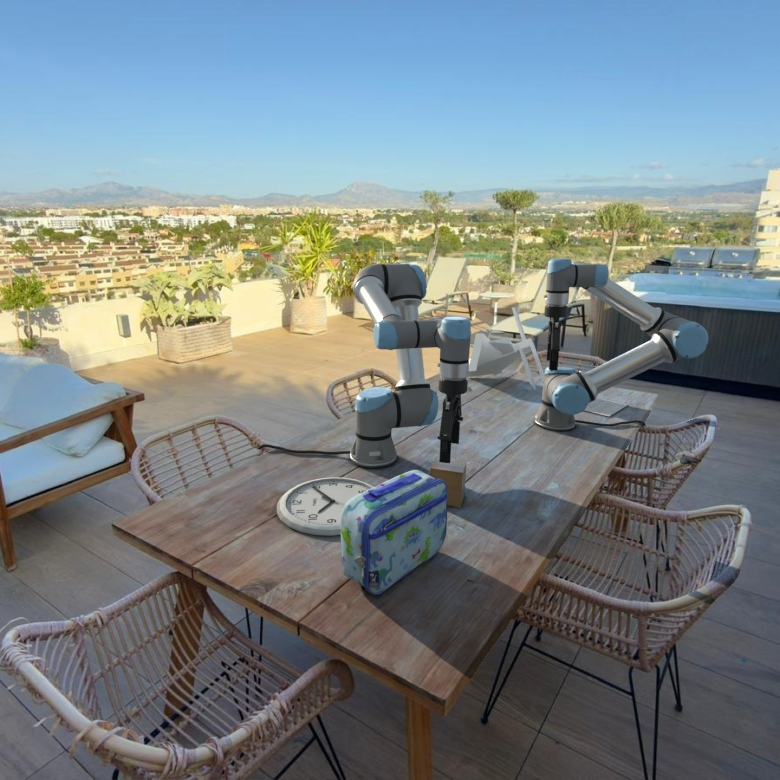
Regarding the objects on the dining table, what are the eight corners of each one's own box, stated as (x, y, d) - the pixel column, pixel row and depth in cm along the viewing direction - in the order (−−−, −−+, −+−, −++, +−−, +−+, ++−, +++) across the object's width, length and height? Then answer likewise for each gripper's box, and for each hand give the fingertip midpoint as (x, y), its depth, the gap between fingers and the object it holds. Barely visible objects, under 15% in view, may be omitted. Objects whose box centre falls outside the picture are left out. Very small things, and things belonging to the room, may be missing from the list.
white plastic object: (482, 418, 266) (461, 395, 241) (463, 346, 288) (443, 318, 264) (553, 394, 254) (538, 368, 229) (528, 321, 276) (512, 289, 251)
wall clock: (392, 527, 129) (268, 531, 127) (391, 533, 130) (269, 537, 127) (383, 473, 158) (282, 475, 155) (383, 478, 158) (282, 480, 156)
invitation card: (608, 416, 214) (573, 407, 224) (608, 416, 214) (573, 408, 224) (628, 404, 229) (594, 396, 238) (628, 405, 229) (594, 397, 238)
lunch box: (368, 607, 104) (369, 515, 98) (334, 582, 112) (333, 494, 106) (451, 554, 122) (455, 472, 116) (417, 535, 129) (420, 457, 123)
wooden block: (433, 492, 151) (435, 458, 148) (464, 496, 149) (466, 463, 145) (428, 502, 145) (430, 468, 142) (460, 507, 143) (462, 472, 140)
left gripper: (448, 364, 149) (444, 434, 155) (428, 388, 126) (425, 469, 132) (474, 367, 147) (470, 437, 153) (459, 391, 124) (455, 473, 130)
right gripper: (542, 300, 191) (539, 356, 197) (547, 310, 168) (542, 374, 174) (564, 300, 189) (559, 357, 196) (571, 310, 166) (566, 374, 173)
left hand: (449, 452), depth 142 cm, fingers open, 13 cm apart
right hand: (551, 365), depth 185 cm, fingers open, 13 cm apart
